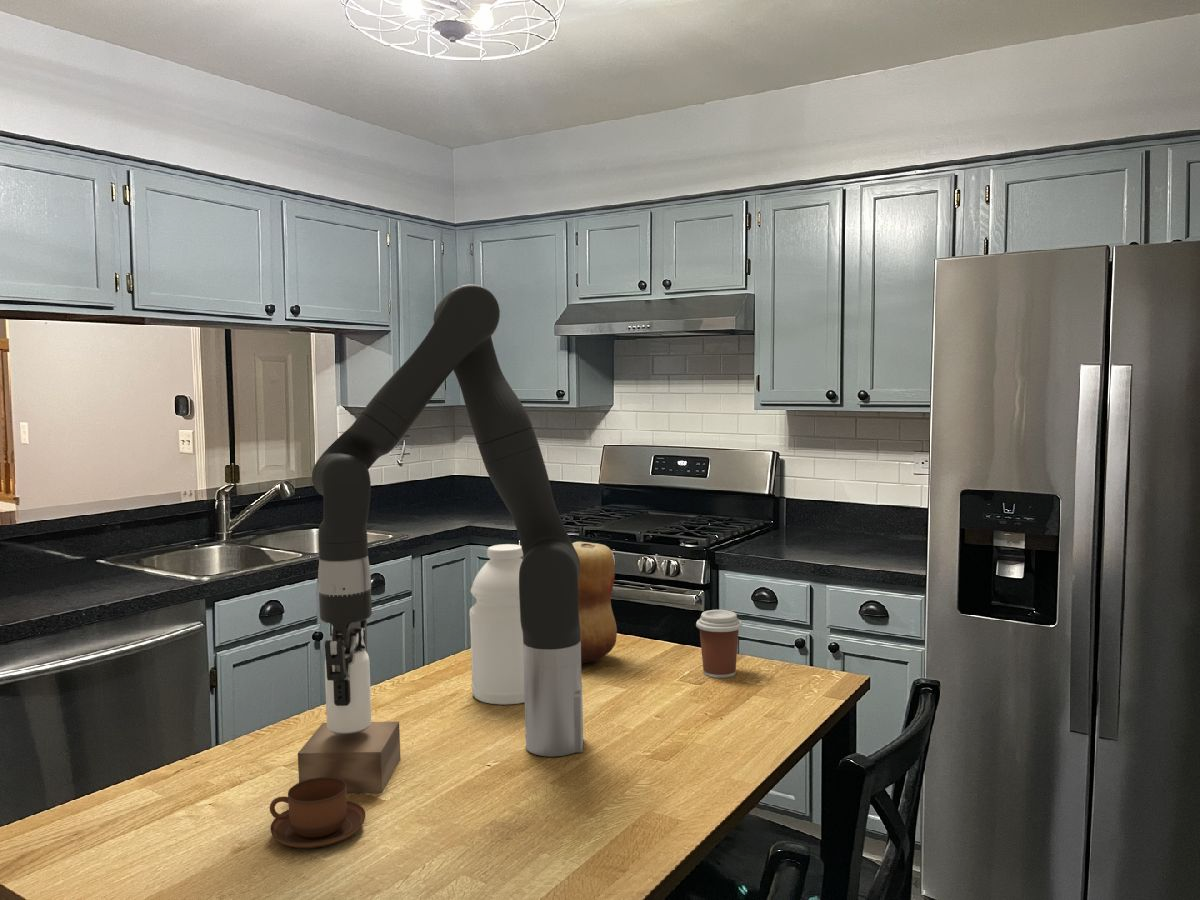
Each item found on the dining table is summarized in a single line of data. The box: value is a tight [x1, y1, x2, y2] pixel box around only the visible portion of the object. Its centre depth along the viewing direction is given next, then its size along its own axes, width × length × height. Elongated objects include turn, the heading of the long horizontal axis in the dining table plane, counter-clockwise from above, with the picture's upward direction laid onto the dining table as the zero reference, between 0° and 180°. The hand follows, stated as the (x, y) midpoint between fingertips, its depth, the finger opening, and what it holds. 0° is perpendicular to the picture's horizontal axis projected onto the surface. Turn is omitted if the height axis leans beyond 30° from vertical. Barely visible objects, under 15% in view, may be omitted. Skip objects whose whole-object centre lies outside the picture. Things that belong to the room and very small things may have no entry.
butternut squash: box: [572, 541, 618, 665], centre depth 194 cm, size 14×13×25 cm
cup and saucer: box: [269, 777, 366, 849], centre depth 123 cm, size 12×12×6 cm
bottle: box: [468, 543, 525, 705], centre depth 175 cm, size 14×14×28 cm
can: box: [324, 645, 372, 734], centre depth 140 cm, size 6×6×12 cm
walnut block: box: [297, 721, 402, 794], centre depth 141 cm, size 12×12×6 cm
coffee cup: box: [695, 609, 743, 679], centre depth 186 cm, size 9×9×12 cm
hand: (349, 696), depth 140 cm, fingers closed on can, 6 cm apart
